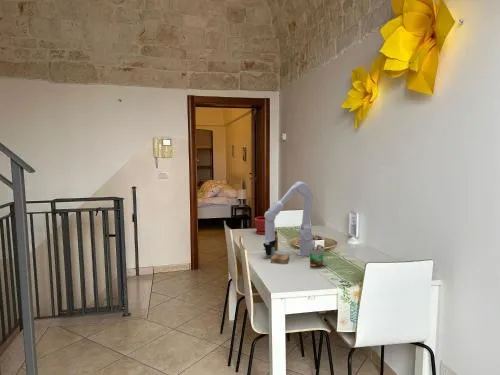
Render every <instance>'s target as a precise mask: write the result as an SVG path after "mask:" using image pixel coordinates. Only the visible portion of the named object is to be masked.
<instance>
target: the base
mask: <svg viewBox="0 0 500 375" xmlns="http://www.w3.org/2000/svg"><path fill="white" fill-rule="evenodd" d="M289 261H290V255H289V254H281V253H280V254H278V253H275V254H274V255H273V256H272V257H270V264H280V265H287V264H288V262H289Z"/></svg>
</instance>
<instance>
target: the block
mask: <svg viewBox="0 0 500 375" xmlns="http://www.w3.org/2000/svg"><path fill="white" fill-rule="evenodd" d="M275 252H276V251H275V247H272V249H271V255H267V254H266V253H265V257H266V258H267V257H268V258H271V257H272V256H273V255H274V254H276V253H275Z"/></svg>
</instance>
